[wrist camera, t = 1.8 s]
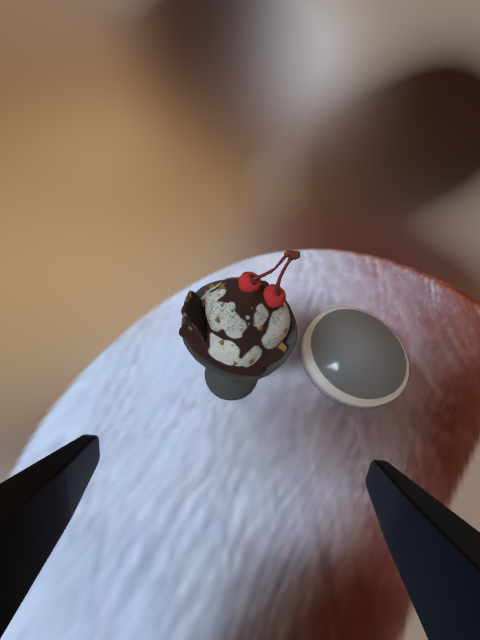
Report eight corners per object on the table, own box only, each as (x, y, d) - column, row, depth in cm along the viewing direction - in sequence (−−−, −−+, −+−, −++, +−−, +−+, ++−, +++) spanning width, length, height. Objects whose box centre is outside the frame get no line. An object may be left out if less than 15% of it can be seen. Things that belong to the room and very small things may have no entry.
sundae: (278, 364, 23) (357, 250, 10) (241, 426, 20) (285, 377, 7) (223, 328, 25) (231, 189, 12) (180, 382, 22) (126, 274, 9)
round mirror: (401, 422, 22) (417, 419, 20) (293, 390, 22) (300, 385, 20) (395, 328, 27) (407, 319, 25) (306, 304, 27) (313, 294, 25)
